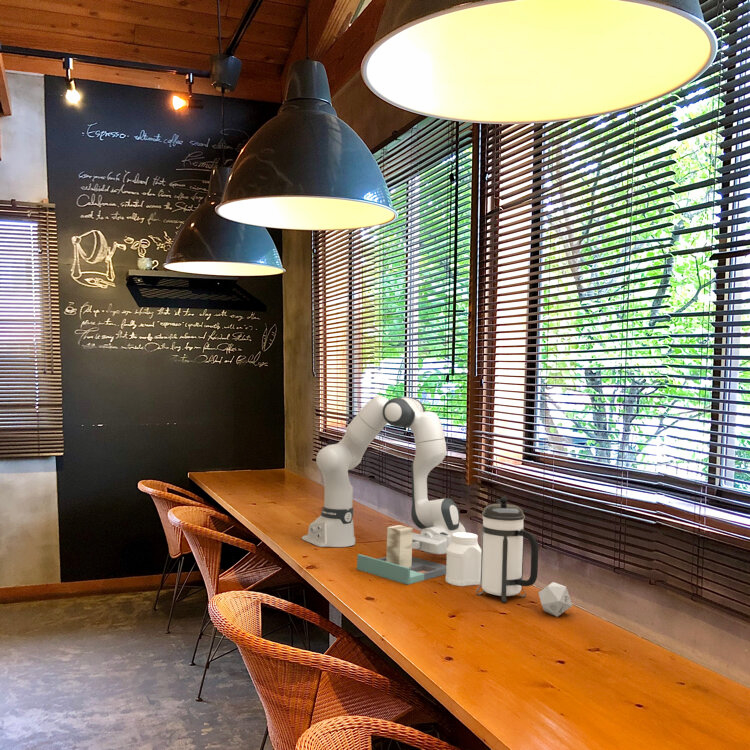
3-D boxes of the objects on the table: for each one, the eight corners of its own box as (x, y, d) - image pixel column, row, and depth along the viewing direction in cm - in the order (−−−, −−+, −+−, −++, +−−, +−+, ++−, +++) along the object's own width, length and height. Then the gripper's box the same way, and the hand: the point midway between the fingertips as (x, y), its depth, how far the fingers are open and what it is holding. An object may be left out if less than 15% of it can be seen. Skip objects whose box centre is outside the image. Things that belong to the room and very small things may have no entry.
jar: (454, 587, 219) (456, 539, 219) (440, 578, 228) (442, 532, 228) (486, 584, 224) (488, 537, 224) (471, 576, 233) (473, 530, 233)
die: (540, 619, 193) (562, 595, 190) (527, 595, 201) (548, 571, 198) (561, 627, 197) (584, 602, 194) (548, 602, 204) (569, 579, 201)
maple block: (386, 566, 234) (387, 527, 234) (398, 563, 238) (399, 525, 238) (399, 569, 230) (400, 530, 230) (411, 566, 234) (412, 528, 234)
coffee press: (476, 602, 204) (479, 499, 205) (475, 586, 220) (478, 491, 221) (536, 607, 202) (540, 503, 202) (532, 590, 218) (534, 494, 218)
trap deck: (356, 569, 236) (357, 554, 236) (400, 559, 252) (401, 545, 252) (407, 584, 220) (408, 568, 220) (451, 572, 236) (451, 557, 236)
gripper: (409, 526, 254) (383, 531, 244) (454, 536, 239) (428, 541, 229) (409, 543, 253) (382, 549, 244) (453, 554, 239) (427, 561, 229)
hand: (405, 545), depth 236 cm, fingers closed, pressing on maple block
